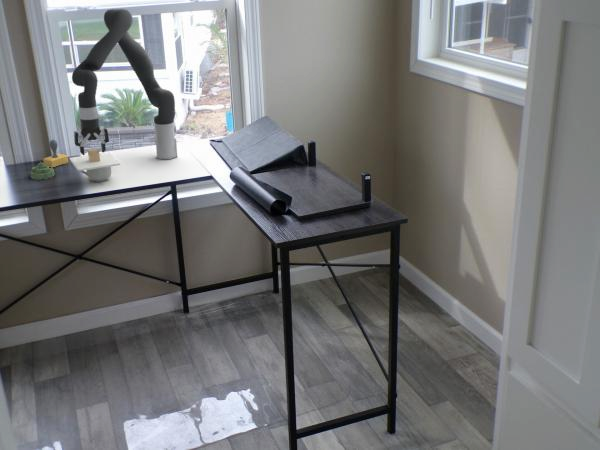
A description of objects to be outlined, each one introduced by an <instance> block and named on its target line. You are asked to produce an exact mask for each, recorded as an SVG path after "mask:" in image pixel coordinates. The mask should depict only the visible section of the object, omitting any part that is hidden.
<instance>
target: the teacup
mask: <svg viewBox="0 0 600 450" xmlns="http://www.w3.org/2000/svg"><path fill="white" fill-rule="evenodd" d="M79 172H80V173H82V174H84V175H85V176H87V177H88V179H90V180H91V181H92V182H96V183H97V182H98V183H100V182H105V181H107V180H108V179H109V178H110V177H111V176H112V166H111V167H104V168H97V169H90V170H83V171H79Z"/></svg>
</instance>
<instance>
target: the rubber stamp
mask: <svg viewBox="0 0 600 450" xmlns="http://www.w3.org/2000/svg"><path fill="white" fill-rule="evenodd" d="M49 147H50V149H51V151H52V153H53V154H52V156H47V157H44V158H43V159H42V161H43V162H42V163H44V164H45V165H49V167H51V168H53V167H54V168H56V166H57V167H59V165H60V166H63V165H65V164H68V163H69V158H68V157H69V156H68V155H67V154H61V153H57V149H58V142H57V140H55V139H52V140H50V141H49ZM62 164H63V165H62ZM54 168H53V169H54Z"/></svg>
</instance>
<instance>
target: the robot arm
mask: <svg viewBox="0 0 600 450" xmlns="http://www.w3.org/2000/svg"><path fill="white" fill-rule="evenodd" d="M133 20H134V19H133V14H132V13H131V12H130V11H129V10H128V9H125V8H111V9H108V10H106V11H105V12H104V14H103V21H104V25H105V27H106V28H107V30H108V32H107V33H106V34H105V35H104V36H103V37H102V38H101V39H99V40H98V41H97V42H96V43H95V44H94V45H93V47H92V48H91V49H90V51H89V53H88V54H87V56H86V57H85V59H84V60H83V61H81V62H80V64H79V65H78V66H76V67H75V68H74V70H73V72H72V76H71V80H72V82H73V84H74V85H75V86H77V87H83V88H84V89H83V91H82V92H79V93H78V95H77V98H78V106H79V107H78V109H79V110H78V111H79V113H78V114H79V121H80V131H73V137H74V141H73V142H74V144H75V147H79V152H80V154H81V155H82V156H86V154H85V147H84V146H85V144H86V143H87V141H89V142H90V141H96V140H98V141H99V142H100V145H101V147H100V148H101V153H106V152H105V151H106V150H107V149H106V148H107V147H106V144H107V143H110V137H109V132H108V129H107V128H106V127H103V128H100V120H99V112H98V107H97V101H96V94H97V88H98V76H97V74H96V73H95V72H96V71H99V70H101V68H102V67H103V65H104V63H106V60H107V58H108V56H109V55H110V53H111V52H112V50H113V49H114V48H115V47H116V45H117V44H118V46H119V47H120V49H121V50H122V52H123V54H124V55H125V57H126V59H127V62H129V65H130V67H131V68H132V70H133V72H134V73H135V75H136V76H137V78H138V80H139V82H140V83H141V85H142V87H143V89H144V91H145V94H146V97H147V99H148V102H149V103H150V104H151V105H152V106H153V107H154V108H158V110H157V111H158V114H157V115H155V116H154V117H153V122H154V123H153V124H154V125H153V126H154V132H155V133H154V135H155V137H154V138H155V148H156V149H155V150H156V158H157V159H160V160H170V159H175V158H177V157H178V148H177V145H178V144H177V138H176V136H175V134H176V133H175V121H174V119H175V116H176V101H175V96H174V95H175V94H174V93H173V92H172V91H171V90H168V89H165V88H163V87H161V86H160V84H159V83H158V81H157V79H156V77H155V74H154V73H155V71H154V63H153V62H152V59H151V58H150V55H149V54H148V52H147V50H146V49H145V48H144V47H143V46H142V45H141V44H140V43H139V42H138V41H137V40H135V39H134V37H132V36H131V35H130V33H129V30H130V29H131V27H132V25H133V22H134V21H133ZM101 133H102V134H103V136H104V139H103V138H102V137H101V136H100V134H101ZM80 136H82V138H81V140H80V141H79V137H80ZM176 156H177V157H176ZM174 157H175V158H174Z"/></svg>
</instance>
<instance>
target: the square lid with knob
mask: <svg viewBox="0 0 600 450" xmlns="http://www.w3.org/2000/svg"><path fill="white" fill-rule="evenodd" d="M68 161H70V163H72V165H73V167H75V169H76V170H77V171H78V172H80V171H87V170H90V169H97V168H104V167H111V168H112V167H117V166H121V163H120V161H119V160H118V159H117V158H116V157H115V156H114V155H113V154H112V153H111V152H101V153H100V149H99V148H97V147H93V148H87V155H81V156H74V157H69V158H68Z"/></svg>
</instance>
